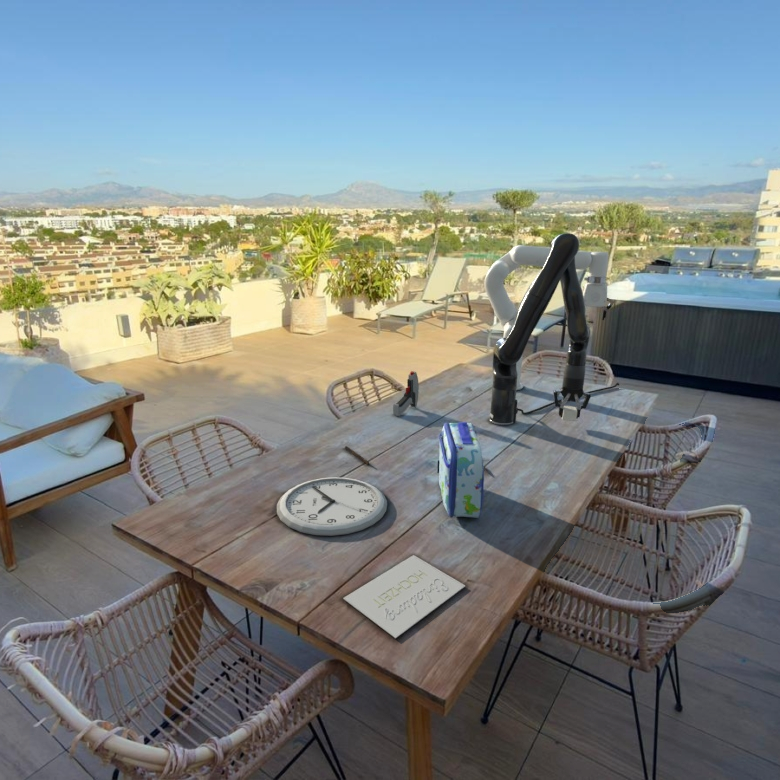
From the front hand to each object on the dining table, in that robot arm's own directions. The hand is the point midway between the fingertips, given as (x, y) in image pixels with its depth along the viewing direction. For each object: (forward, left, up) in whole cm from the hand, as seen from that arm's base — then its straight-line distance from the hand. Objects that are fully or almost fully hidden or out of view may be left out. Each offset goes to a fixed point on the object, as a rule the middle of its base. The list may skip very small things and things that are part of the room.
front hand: (568, 417), depth 203 cm
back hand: (-31, -38, +31) cm, 58 cm away
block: (0, 0, -1) cm, 1 cm away
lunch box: (+64, +46, -3) cm, 78 cm away
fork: (+49, +25, -3) cm, 55 cm away
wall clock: (+98, +40, -3) cm, 106 cm away
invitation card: (+89, +80, -3) cm, 119 cm away
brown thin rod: (+86, +11, -3) cm, 87 cm away
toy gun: (+58, -28, -3) cm, 64 cm away
